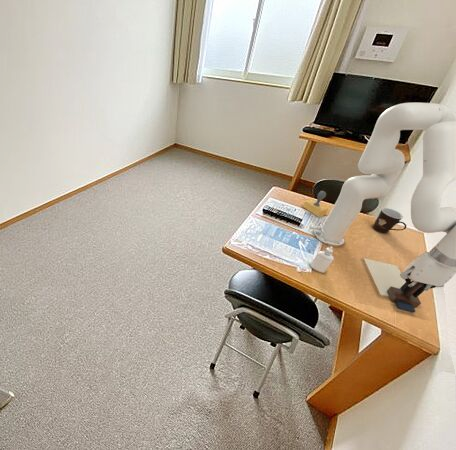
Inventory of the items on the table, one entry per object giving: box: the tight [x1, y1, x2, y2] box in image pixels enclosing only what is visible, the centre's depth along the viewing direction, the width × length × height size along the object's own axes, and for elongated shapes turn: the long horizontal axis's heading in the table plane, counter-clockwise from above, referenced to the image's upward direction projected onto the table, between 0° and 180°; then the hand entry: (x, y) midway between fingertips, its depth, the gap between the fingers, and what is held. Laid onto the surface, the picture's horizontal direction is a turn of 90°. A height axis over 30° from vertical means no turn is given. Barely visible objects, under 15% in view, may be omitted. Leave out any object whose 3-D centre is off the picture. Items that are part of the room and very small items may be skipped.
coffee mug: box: [372, 207, 407, 235], centre depth 131 cm, size 12×9×10 cm
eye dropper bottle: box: [310, 245, 334, 274], centre depth 106 cm, size 4×6×12 cm
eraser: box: [394, 302, 416, 313], centre depth 96 cm, size 5×2×2 cm, turn 74°
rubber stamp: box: [302, 190, 329, 218], centre depth 141 cm, size 10×6×12 cm, turn 27°
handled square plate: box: [387, 282, 424, 309], centre depth 96 cm, size 8×5×10 cm, turn 74°
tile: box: [363, 257, 406, 297], centre depth 107 cm, size 13×20×1 cm, turn 164°
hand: (408, 292), depth 97 cm, fingers closed on handled square plate, 2 cm apart
